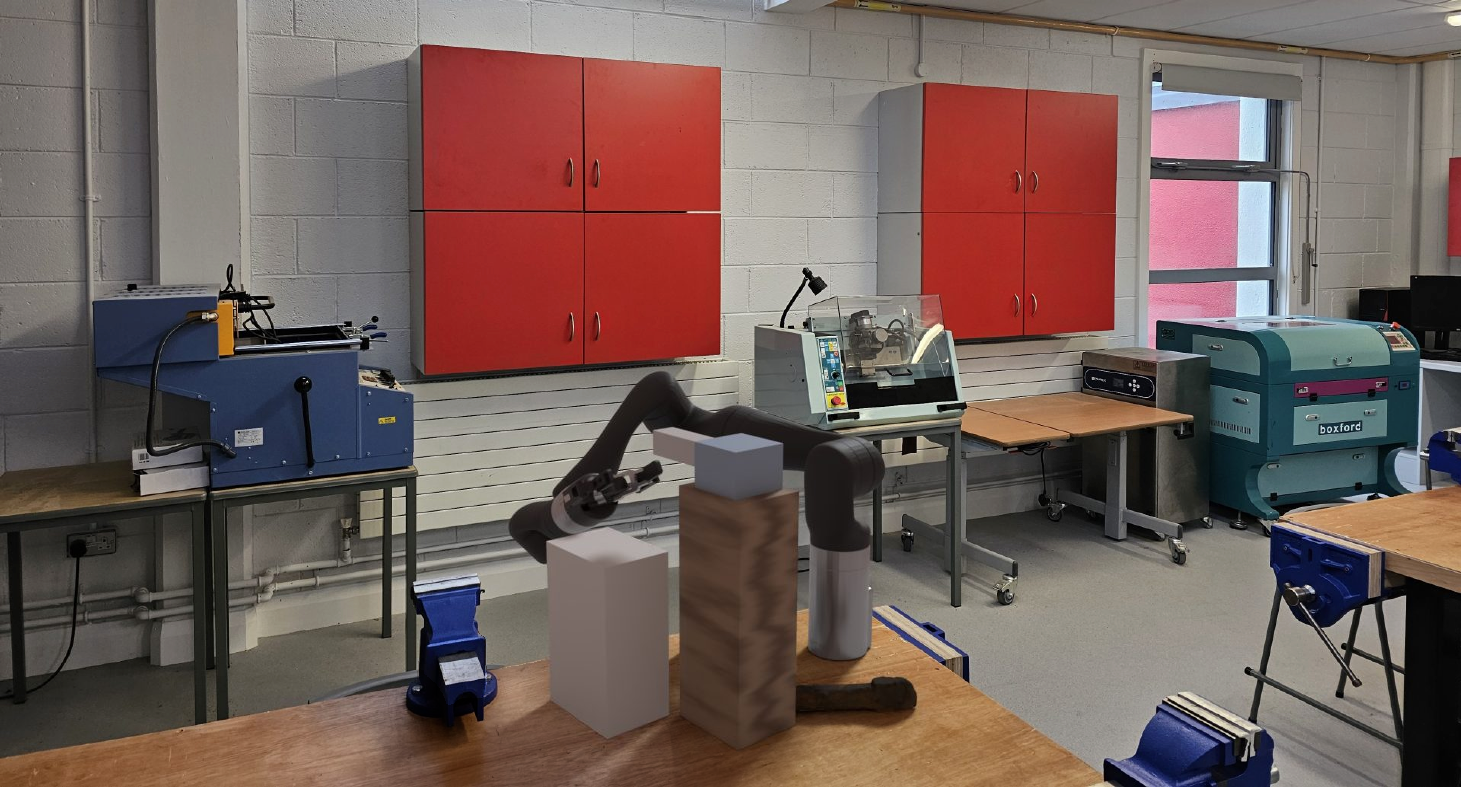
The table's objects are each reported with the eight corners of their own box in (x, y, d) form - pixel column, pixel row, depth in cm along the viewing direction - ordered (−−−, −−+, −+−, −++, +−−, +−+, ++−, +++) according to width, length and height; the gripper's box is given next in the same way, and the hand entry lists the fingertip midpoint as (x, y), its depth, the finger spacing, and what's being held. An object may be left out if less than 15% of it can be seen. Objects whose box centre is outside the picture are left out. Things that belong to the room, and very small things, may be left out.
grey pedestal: (610, 679, 147) (608, 526, 143) (669, 714, 137) (668, 551, 133) (550, 700, 141) (546, 541, 137) (607, 739, 130) (604, 568, 126)
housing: (685, 460, 144) (685, 419, 143) (782, 489, 129) (783, 443, 128) (639, 469, 139) (639, 426, 138) (735, 500, 124) (735, 452, 123)
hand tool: (779, 719, 136) (780, 687, 135) (777, 705, 140) (778, 673, 139) (919, 719, 137) (921, 687, 136) (914, 705, 140) (915, 674, 140)
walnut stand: (735, 693, 143) (736, 473, 138) (795, 725, 134) (799, 491, 129) (679, 715, 137) (678, 485, 131) (738, 750, 128) (740, 505, 122)
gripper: (537, 489, 155) (586, 453, 143) (614, 474, 164) (666, 440, 152) (551, 536, 153) (602, 503, 142) (628, 518, 163) (682, 486, 151)
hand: (635, 470), depth 147 cm, fingers open, 8 cm apart
